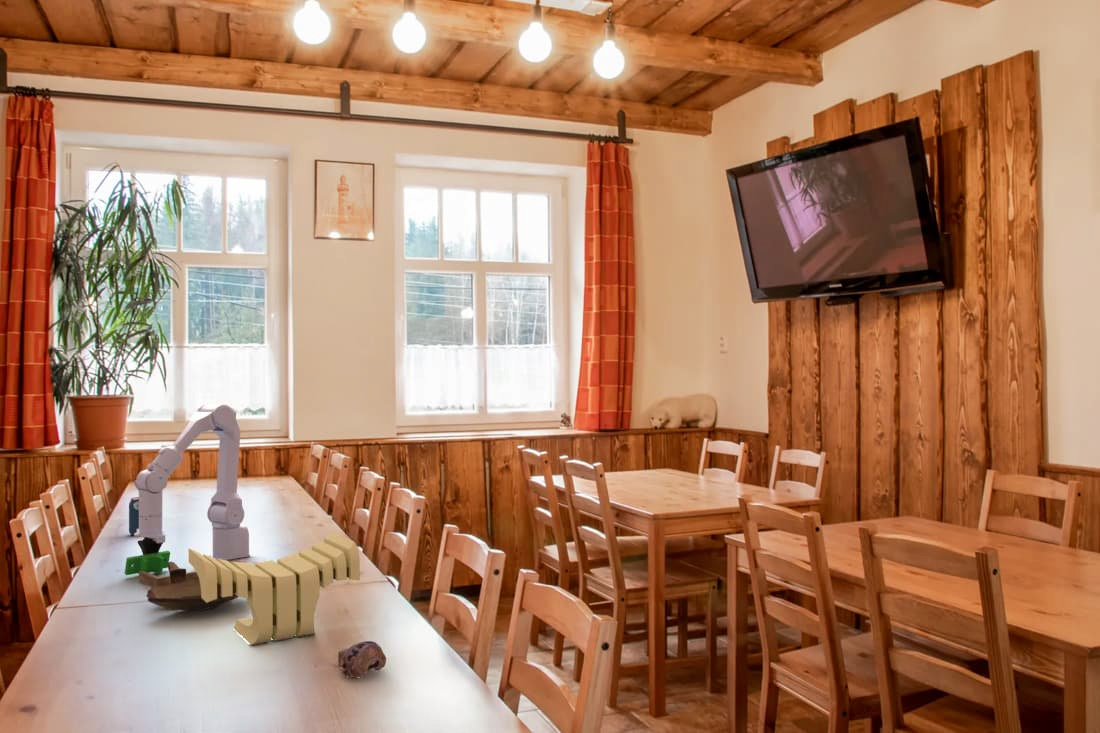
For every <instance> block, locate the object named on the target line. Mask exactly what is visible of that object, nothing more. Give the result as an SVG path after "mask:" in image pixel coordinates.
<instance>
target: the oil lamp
mask: <svg viewBox="0 0 1100 733" xmlns="http://www.w3.org/2000/svg"><path fill="white" fill-rule="evenodd" d="M167 570H168V574H169V575H170V580H171V584H168V585H164V586H159V587H156V588H153V587H151V588H150V589H148V590H147V594H146V595H145V596H146V597H147V601H148V602H149V603H150V604H154V605H155V606H159V607H162V608H165V609H170V610H174V611H181V612H195V611H202V610H209V609H213V608H217V607H220V606H222V605H224V604H227V603H229V602H232V601H234V600H236V599H237V598H239V596H237V595H235V594H234V593H233V596H227V597H221V596H220V595H217V599H215V600H212V601H210V602H207V603H206V602H205V601H204V600H203V599H202V597H201V586H200V580H193V581H188V580H187V579H186V573H187V568H180V567H179V566H178V565H177V563H176V562H174V561H170V560H169V563H168V568H167ZM169 575H168V576H169Z"/></svg>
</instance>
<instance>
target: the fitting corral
mask: <svg viewBox="0 0 1100 733" xmlns="http://www.w3.org/2000/svg"><path fill="white" fill-rule="evenodd" d="M186 579H187V580H188V581H193V580H199V577H198V574H197V572H196V570H193V571H186ZM138 582H139V583H141V582H142V584H143V583H144V585H146V586H148V587H150V586H151V587H150V588H156V587H159V586H164V585H168V584H171V580H170V575H165V576H158V575H155V574H152V573H151V572H150V573H148V572H145V571H141V572H139V574H138Z"/></svg>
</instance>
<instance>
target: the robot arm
mask: <svg viewBox="0 0 1100 733" xmlns="http://www.w3.org/2000/svg"><path fill="white" fill-rule="evenodd" d="M208 431H212V432H213V433H214V434H216V435H217V437H218V438H219V445H218V463H217V474H216V475H217V476H216V477H217V479H216V492H215V493H214V494H213V496H212V497H211V499H210V505H209V507H208V510H207V513H206V514H207V516H206V517H207V519H208V520H209V522H210V523H211V528H212V531H211V532H212V554H210V555H209V554H208V556H211V557H213V558H215V559H216V560H217V561H218V559H222V560H227V561H230V560H235V559H241V558H247V557H251V554H250V534H249V533H250V532H249V528H248V527H247V525H245V524H242V522H243V520H244V519H245V510H244V507H243V499H242V498H241V496H240V495H239V494H238V478H239V477H238V476H239V463H240V462H239V461H240V458H239V457H240V444H241V443H240V441H241V428H240V427H239V424H238V421H237V412H236V411H235V409H233V408H232V407H231V406H229V405H227V404H209V403H205V404H202V405H200V406H199V407H198V408H197V411H195V412H194V413H193V414H192V416H191V419H190V421H189V422H188V424H186V426H185V427H184V429H183V430H182V432H180V434H179V435H178V437H177V438H176V439H175V441H174V442H173V444H172V445H171V446H164V448H163V449H162V448H161V449H159V451H158V452H157V453H158V455H157V456H156V457H155V458H154V460H153V461H152V462H151V463H149V464H148V465H147V466H146V469H144V470H142V471H140V472H139V473H138V474H137V476H136V478H135V480H134V481H133V483H134V486H135V488H136V490H137V491H138V497H139V529H137V533H134V536H133V537H136V538H138V537H141V538H143V539H141V540H137V544H138V546H139V548H140V550H141V553H142V555H146V554H152V553H157V552H160V549H161V548H162V546H163V544H164V543H166V534H164V530H163V491H164V489H165V488H166V487H167V486H168V481H169V480H168V479H169V478H170V476H171V475H172V474H173V472H174V471H175V470H176V468H177V467H178V466H179V465H180V464H181V463H182V461H183V459H184V457H183V453H184V452H185V451H186V450H187V449H188V448H189V447H190V445H192V444H193V442H195V441H196V440H197V438H198V437H199V436H200V435H201V434H202V433H205V432H208Z"/></svg>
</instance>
